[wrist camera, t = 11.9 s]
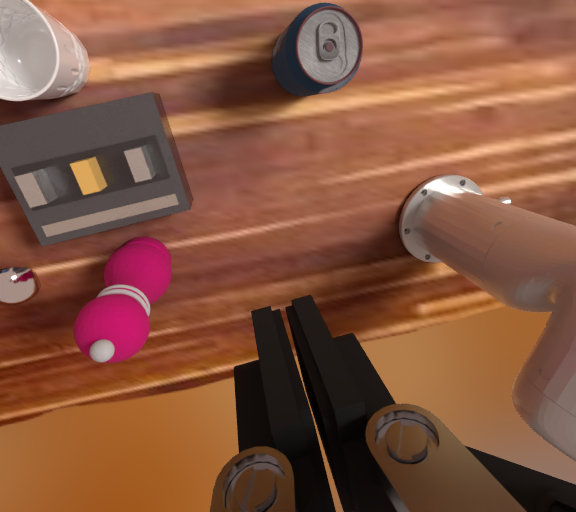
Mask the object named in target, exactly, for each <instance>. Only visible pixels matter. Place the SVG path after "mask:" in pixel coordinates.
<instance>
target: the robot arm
mask: <svg viewBox="0 0 576 512" xmlns="http://www.w3.org/2000/svg"><path fill="white" fill-rule="evenodd" d="M421 192H422V193H421ZM510 203H511V201H510V198H509V197H507V196H505V197H501V198H497V199H493V198H490V197H487V196H484V195H483V193H482V191H481V190H480V188H479V187H478V186H477V185H476V184H475V183H474V182H473V181H472V180H470V179H468V178H466V177H463V176H460V175H454V174H443V175H439V176H435V177H433V178H431V179H429V180H427V181H425V182H424V183H422V184H421V185H420V186H418V187H417V188H416V189H415V190H414V191H413V192H412V194H411V195H410V196H409V198H408V199H407V201H406V203H405V205H404V206H403V209H402V212H401V215H400V220H399V234H400V238H401V241H402V243H403V245H404V247H405V248H406V249H407V250H408V252H409V253H411V254H412V255H413V256H415V257H416V258H418V259H420V260H422V261H425V262H431V263H437V262H443V263H445V264H446V265H448V266H449V267H451V268H452V269H453V270H455V271H456V272H458V273H459V274H461V275H462V276H464V277H465V278H467V279H468V280H470V281H471V282H472V283H474V284H475V285H477V286H478V287H480V288H481V289H483V290H484V291H486V292H487V293H489V294H490V295H492V296H493V297H494V298H496V299H497V300H499V301H500V302H502V303H503V304H505V305H507V306H509V307H512V308H514V309H517V310H522V311H527V312H552V314H551V316H550V317H549V319H548V321H547V323H546V327H545V328H544V330H543V332H542V333H541V335H540V337H539V338H538V340H537V342H536V344H535V345H534V347H533V349H532V350H531V352H530V354H529V355H528V357H527V359H526V361H525V362H524V364H523V366H522V368H521V369H520V371H519V373H518V375H517V377H516V379H515V381H514V384H513V388H512V400H513V404H514V406H515V409H516V411H517V412H518V414H519V415H520V417H521V418H522V419H523V420H524V421H525V422H526V424H527V425H528V426H529V427H530V428H532V430H534V431H535V432H536V433H537V434H538V435H540V436H541V437H542V438H543V439H544V440H546V441H547V442H548V443H550V444H551V445H552V446H554V447H555V448H557V449H558V450H559V451H561V452H562V453H564V454H565V455H567V456H568V457H570V458H571V459H573V460H574V461H576V226H574V225H571V224H568V223H564V222H561V221H558V220H555V219H552V218H549V217H546V216H543V215H540V214H537V213H534V212H530V211H527V210H524V209H521V208H518V207H515V206H512V205H510ZM405 229H406V230H405ZM285 308H286V312H287V317H288V321H289V325H290V329H291V333H292V337H293V341H294V345H295V349H296V353H297V357H298V361H299V365H300V369H301V374H302V377H303V382H304V385H305V389H306V393H307V396H308V399H309V402H310V406H311V409H312V412H313V415H314V418H315V422H316V425H317V428H318V431H319V434H320V437H321V440H322V444H323V447H324V450H325V454H326V456H327V460H328V463H329V466H330V469H331V473H332V476H333V479H334V482H335V485H336V488H337V492H338V495H339V498H340V501H341V504H342V508H343V511H344V512H576V485H575V484H572V483H569V482H566V481H564V480H561V479H558V478H555V477H552V476H549V475H547V474H544V473H541V472H538V471H535V470H532V469H530V468H527V467H524V466H521V465H518V464H515V463H512V462H510V461H507V460H504V459H501V458H498V457H496V456H493V455H490V454H487V453H484V452H481V451H479V450H476V449H473V448H470V447H467V446H464V445H463V444H462V443H461V442H460V441H459V440H458V438H457V437H456V436H455V435H454V434H453V433H452V432H451V431H450V430H449V429H448V428H447V427H446V426H445V425H444V424H443V423H442V421H440V419H439V418H437V417H436V416H435V415H434V414H432V413H431V412H430V411H428V410H426V409H424V408H422V407H419V406H416V405H411V404H396V403H395V401H394V400H393V398H392V396H391V395H390V393H389V391H388V390H387V388H386V386H385V385H384V383H383V381H382V380H381V378H380V376H379V375H378V373H377V372H376V370H375V368H374V367H373V365H372V363H371V362H370V360H369V358H368V357H367V355H366V353H365V352H364V350H363V349H362V347H361V345H360V343H359V342H358V340H357V338H356V337H355V335H354V334H353V333H350V334H346V335H343V336H339V337H336V338H332V336H331V334H330V332H329V330H328V328H327V326H326V324H325V322H324V320H323V318H322V316H321V314H320V312H319V310H318V308H317V306H316V304H315V302H314V300H313V298H312V296H311V295H308V296H304V297H301V298H297V299H294V300H292V306H288V307H285ZM251 314H252V320H253V326H254V332H255V338H256V344H257V350H258V356H259V360H256V361H252V362H249V363H245V364H242V365H238V366H235V367H234V381H235V397H236V411H237V412H236V413H237V428H238V445H239V454H237V455H236V456H234V457H233V458H232V459H231V460H230V461H229V462H228V463H227V464H226V465H225V466H224V467H223V469H222V470H221V472H220V473H219V475H218V477H217V479H216V482H215V486H214V489H213V495H212V501H211V507H210V512H336V511H335V507H334V502H333V498H332V494H331V490H330V486H329V482H328V478H327V474H326V470H325V466H324V462H323V458H322V454H321V450H320V445H319V441H318V437H317V433H316V429H315V425H314V421H313V418H312V414H311V410H310V407H309V404H308V401H307V397H306V394H305V391H304V388H303V384H302V381H301V378H300V375H299V371H298V368H297V365H296V361H295V358H294V355H293V352H292V348H291V345H290V342H289V339H288V335H287V332H286V329H285V326H284V322H283V319H282V316H281V313H280V309H277V310H274V311H272V310H271V307H270V306H268V307H265V308H261V309H257V310H254V311H251Z"/></svg>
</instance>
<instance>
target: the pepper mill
mask: <svg viewBox="0 0 576 512" xmlns="http://www.w3.org/2000/svg"><path fill="white" fill-rule="evenodd" d="M171 276H172V272H171V256H170V253H169V251H168V249H167V248H166V247H165V246H164V245H163V244H162V243H161V242H159V241H158V240H156V239H153V238H150V237H137V238H134V239H131V240H130V241H128V242H127V243H125V244H124V246H123V247H121V248H119V249H117V250H116V251H115V252H114V253H113V254H112V255H111V256H110V258H109V259H108V261H107V263H106V266H105V269H104V282H105V286H106V288H105V289H104V290H103V291H101V292H100V293H99V294H98V296H97V297H96V298H95V299H93V300H91V301H90V302H88V303H87V304H86V305H85V306H84V307H83V308H82V310H81V311H80V312H79V314H78V316H77V318H76V321H75V324H74V338H75V342H76V344H77V346H78V348H79V349H80V350H81V351H82V353H83V354H84V355H86V356H87V357H89V358H90V359H92V360H94V361H96V362H104V363H115V362H120V361H124V360H126V359H128V358H130V357H132V356H133V355H135V354H136V353H137V352H138V351H139V350H140V349H141V348H142V347H143V345H144V343H145V342H146V340H147V338H148V335H149V330H150V322H149V314H150V304H151V303H153V302H155V301H156V300H158V299H159V298H160V297H161V296H162V295H163V294H164V293H165V292H166V290H167V288H168V286H169V284H170V281H171Z"/></svg>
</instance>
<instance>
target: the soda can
mask: <svg viewBox="0 0 576 512" xmlns="http://www.w3.org/2000/svg"><path fill="white" fill-rule="evenodd" d="M362 51H363V39H362V34H361V30H360V27H359V25H358V23H357V22H356V20H355V19H354V17H353V16H352V15H351V14H350V13H348V12H347V11H346V10H344V9H343V8H341V7H340V6H337V5H335V4H331V3H318V4H314V5H312V6H309V7H307V8H306V9H304V10H303V11H302V12H301V13H300V14H299V15H298V16H297V17H296V18H295V19H294V20H293V21H292V23H291V24H290V25H289V26H288V27H287V28H286V29H285V31H284V32H283V33H282V34H281V35H280V36H279V38H278V39H277V41H276V43H275V45H274V48H273V51H272V69H273V73H274V76H275V78H276V80H277V81H278V83H279V84H280V85H281V87H282V88H283V89H285V90H286V91H287V92H289V93H291V94H293V95H297V96H309V95H316V94H323V93H329V92H333V91H336V90H338V89H340V88H342V87H343V86H345V85H346V84H347V83H348V82H349V81H350V80H351V79H352V77H353V76H354V75H355V73H356V71H357V69H358V67H359V64H360V61H361V57H362Z"/></svg>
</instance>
